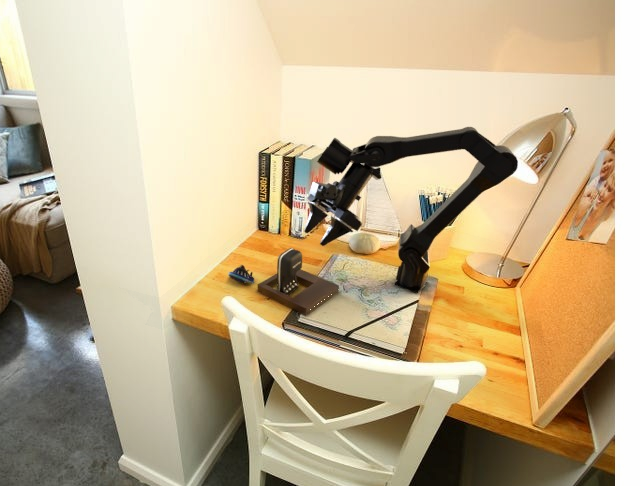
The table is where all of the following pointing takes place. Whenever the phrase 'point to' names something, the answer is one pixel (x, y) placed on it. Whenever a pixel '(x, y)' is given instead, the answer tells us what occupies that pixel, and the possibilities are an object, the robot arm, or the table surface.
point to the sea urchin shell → (364, 243)
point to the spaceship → (241, 275)
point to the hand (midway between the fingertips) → (313, 238)
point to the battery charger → (288, 270)
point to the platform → (306, 298)
